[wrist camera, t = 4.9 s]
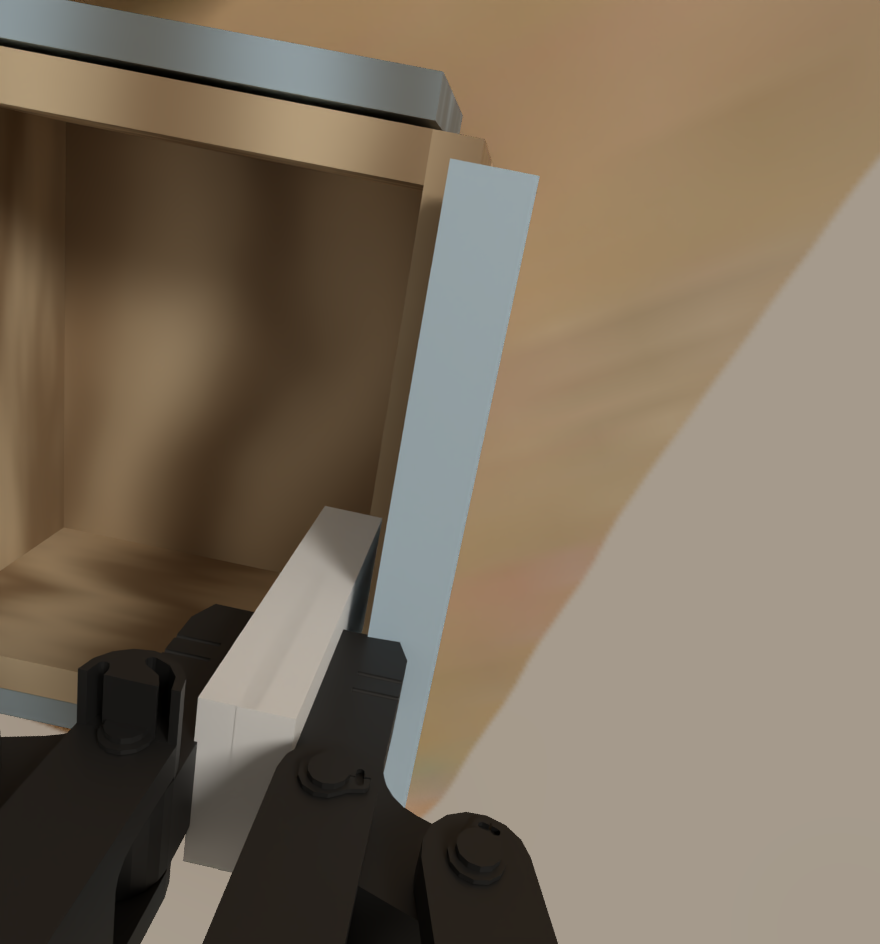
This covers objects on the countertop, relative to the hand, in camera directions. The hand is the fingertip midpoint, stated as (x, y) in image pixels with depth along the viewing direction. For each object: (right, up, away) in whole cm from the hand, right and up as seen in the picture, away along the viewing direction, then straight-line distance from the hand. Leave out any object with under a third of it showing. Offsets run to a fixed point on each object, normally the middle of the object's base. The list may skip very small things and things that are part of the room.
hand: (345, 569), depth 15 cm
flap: (+1, +1, +4) cm, 4 cm away
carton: (-6, +6, +13) cm, 15 cm away
